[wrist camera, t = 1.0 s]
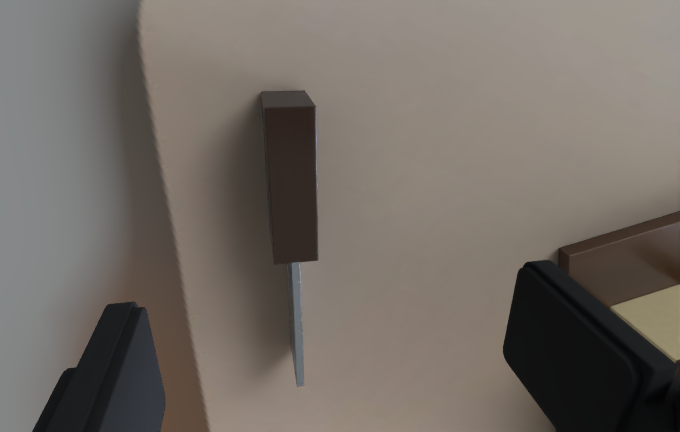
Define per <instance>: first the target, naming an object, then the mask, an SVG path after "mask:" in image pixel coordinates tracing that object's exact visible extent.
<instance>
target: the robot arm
mask: <svg viewBox="0 0 680 432" xmlns="http://www.w3.org/2000/svg"><path fill="white" fill-rule="evenodd" d="M503 354H504V358H505V360H506V362H507V363H508V365H509V366H510V367H511V369H512V370H513V371H514V373H515V374H516V375H517V377H518V378H519V380H520V381H521V382H522V384H523V385H524V386H525V388H526V389H527V390H528V392H529V393H530V394H531V396H532V397H533V399H534V400H535V401H536V403H537V404H538V405H539V407H540V408H541V409H542V411H543V412H544V413H545V415H546V416H547V418H548V419H549V420H550V422H551V423H552V424H553V426H554V427H555V428H556V430H557V431H558V432H680V379H679V378H677V377H676V376H675V373H676V371H677V368H678V365H677V364H676V363H674V362H673V361H672V360H671V359H670V358H668V357H667V356H666V355H665V354H663V353H662V352H661V351H660V350H659V349H657V348H656V347H655V346H654V345H653V344H651V343H650V342H649V341H648V340H646V339H645V338H644V337H643V336H642V335H640V334H639V333H638V332H637V331H636V330H634V329H633V328H632V327H631V326H629V325H628V324H627V323H626V322H625V321H623V320H622V319H621V318H620V317H619V316H617V315H616V314H615V313H614V312H612V311H611V310H610V309H609V308H608V307H606V306H605V305H604V304H603V303H602V302H600V301H599V300H598V299H597V298H595V297H594V296H593V295H592V294H591V293H589V292H588V291H587V290H586V289H585V288H583V287H582V286H581V285H580V284H578V283H577V282H576V281H575V280H574V279H572V278H571V277H570V276H569V275H568V274H566V273H565V272H564V271H563V270H561V269H560V268H559V267H558V266H557V265H555V264H554V263H553V262H551V261H550V260H542V261H532V262H527V263H525V264H524V266H523V268H521V269H520V270H519V271H518V274H517V279H516V284H515V289H514V294H513V299H512V304H511V309H510V314H509V320H508V325H507V330H506V335H505V340H504V345H503ZM164 411H165V393H164V388H163V383H162V379H161V374H160V370H159V365H158V360H157V356H156V351H155V347H154V342H153V338H152V333H151V328H150V324H149V319H148V314H147V311H146V308H145V307H139V308H138V306H137V304H136V303H135V302H126V303H116V304H108V305H107V306H106V308H105V309H104V311H103V314H102V316H101V318H100V320H99V322H98V324H97V326H96V328H95V330H94V332H93V334H92V336H91V339H90V340H89V343H88V345H87V347H86V349H85V351H84V353H83V355H82V357H81V359H80V361H79V363H78V365H77V367H76V368H68V369H67V370H66V371H64V372H63V374H62V375H61V377H60V379H59V381H58V383H57V385H56V386H55V388H54V391H53V392H52V394H51V396H50V398H49V400H48V402H47V404H46V406H45V408H44V410H43V412H42V414H41V416H40V418H39V420H38V422H37V423H36V425H35V427H34V429H33V431H32V432H160V430H161V425H162V420H163V416H164Z"/></svg>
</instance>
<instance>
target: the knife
mask: <svg viewBox="0 0 680 432" xmlns="http://www.w3.org/2000/svg"><path fill="white" fill-rule="evenodd" d="M261 101H262V116H263V131H264V147H265V162H266V177H267V192H268V207H269V223H270V234H271V242H272V250H273V258H274V264H285V263H287V267H288V288H289V308H290V329H291V349H292V356H293V363H294V370H295V377H296V384H297V387H299V386H304V364H303V335H302V306H301V277H300V262H306V261H317V260H318V204H317V130H316V106H315V104H314V103H313V102H312V100H311V99H310V97H309V96H308V95H307V93H306V92H305V91H266V92H261Z"/></svg>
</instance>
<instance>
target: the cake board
mask: <svg viewBox="0 0 680 432" xmlns="http://www.w3.org/2000/svg"><path fill="white" fill-rule="evenodd" d="M559 268H560V269H561V270H563V271H564V272H565V273H566V274H568V275H569V276H570V277H571V278H572V279H574V280H575V281H576V282H577V283H578V284H580V285H581V286H582V287H583V288H585V289H586V290H587V291H588V292H589V293H591V294H592V295H593V296H594V297H595V298H597V299H598V300H599V301H600V302H602V303H603V304H604V305H605V306H606V307H608V308H609V309H610V306H613V305H616V304H619V303H622V302H626V301H629V300H632V299H635V298H638V297H641V296H644V295H647V294H650V293H653V292H657V291H660V290H663V289H666V288H669V287H672V286H675V285H678V284H680V211H679V212H676V213H672V214H669V215H666V216H663V217H659V218H656V219H653V220H650V221H646V222H643V223H640V224H637V225H633V226H630V227H627V228H624V229H620V230H617V231H614V232H611V233H607V234H604V235H601V236H598V237H594V238H591V239H588V240H584V241H581V242H578V243H575V244H571V245H568V246H565V247H562V248H559ZM556 432H558V431H557V430H556Z"/></svg>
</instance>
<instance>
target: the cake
mask: <svg viewBox="0 0 680 432" xmlns="http://www.w3.org/2000/svg"><path fill="white" fill-rule="evenodd" d="M610 310H611V311H612V312H614V313H615V314H616V315H617V316H619V317H620V318H621V319H622V320H623V321H625V322H626V323H627V324H628V325H629V326H631V327H632V328H633V329H634V330H636V331H637V332H638V333H639V334H640V335H642V336H643V337H644V338H645V339H646V340H648V341H649V342H650V343H651V344H653V345H654V346H655V347H656V348H657V349H659V350H660V351H661V352H662V353H663V354H665V355H666V356H667V357H668V358H670V359H671V360H672V361H673V362H674V363H676V364H677V365H678V368H677V371H676V373H675V376H676V377H677V378H679V379H680V284H678V285H675V286H672V287H669V288H666V289H663V290H660V291H657V292H653V293H650V294H647V295H644V296H641V297H638V298H635V299H632V300H629V301H626V302H622V303H619V304H616V305H613V306H610Z"/></svg>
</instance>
